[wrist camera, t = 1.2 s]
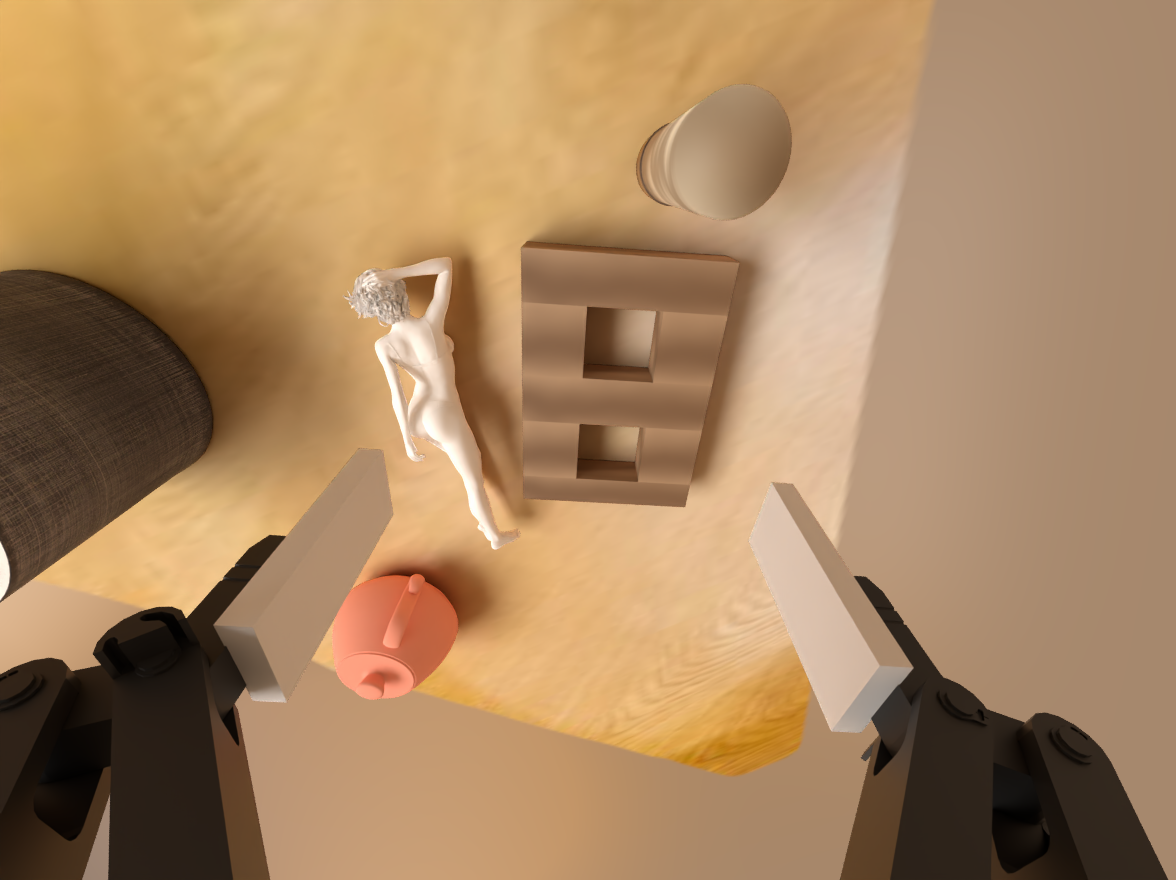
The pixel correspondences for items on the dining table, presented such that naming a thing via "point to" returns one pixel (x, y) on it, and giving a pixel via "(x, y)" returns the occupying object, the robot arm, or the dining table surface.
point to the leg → (719, 154)
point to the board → (618, 368)
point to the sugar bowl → (392, 635)
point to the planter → (83, 417)
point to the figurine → (426, 375)
